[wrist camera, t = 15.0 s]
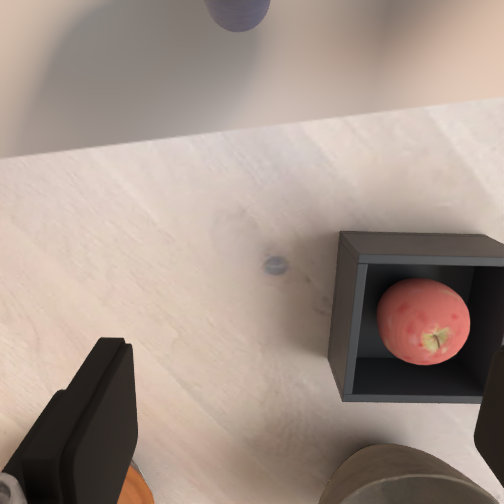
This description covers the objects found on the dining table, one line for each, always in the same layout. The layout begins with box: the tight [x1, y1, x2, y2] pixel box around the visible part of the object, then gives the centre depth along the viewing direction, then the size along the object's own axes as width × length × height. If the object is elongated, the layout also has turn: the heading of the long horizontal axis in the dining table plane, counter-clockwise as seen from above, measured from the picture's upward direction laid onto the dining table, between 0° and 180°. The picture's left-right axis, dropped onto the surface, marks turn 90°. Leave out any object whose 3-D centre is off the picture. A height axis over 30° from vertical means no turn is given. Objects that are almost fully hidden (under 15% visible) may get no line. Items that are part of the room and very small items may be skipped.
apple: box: [377, 278, 470, 365], centre depth 37 cm, size 7×7×8 cm
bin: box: [328, 231, 504, 404], centre depth 38 cm, size 14×14×7 cm
